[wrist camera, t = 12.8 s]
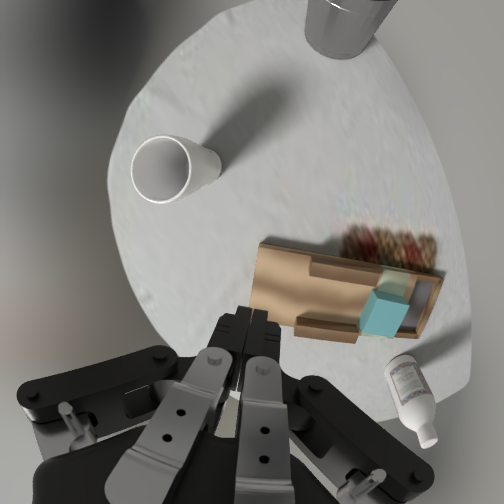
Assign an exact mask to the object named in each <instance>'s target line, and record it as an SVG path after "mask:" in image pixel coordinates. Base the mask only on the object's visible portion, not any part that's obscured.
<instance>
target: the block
mask: <svg viewBox="0 0 504 504" xmlns="http://www.w3.org/2000/svg"><path fill="white" fill-rule="evenodd" d="M409 306H410V305H409V304H408V303H407V301H406V300H405V299H404V298H403V297H402V296H397V295H393V294H389V293H385V292H381V291H377V290H373V289H372V290H371V293H370V295H369V297H368V300H367V302H366V304H365V307H364V309H363V311H362V313H361V316H360V318H359V320H358V324H359V327H360V329H361V332H362V333H367V334H373V335H379V336H384V337H390V338H394V336H395V334H396V332H397V330H398V328H399V327H400V325H401V323H402V321H403V319H404V317H405V315H406V313H407V311H408V308H409Z"/></svg>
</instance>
